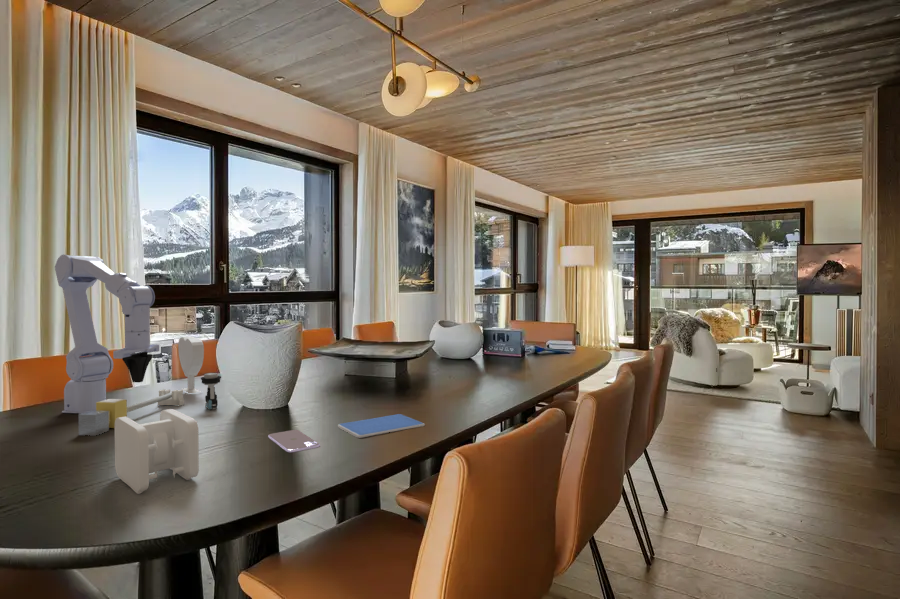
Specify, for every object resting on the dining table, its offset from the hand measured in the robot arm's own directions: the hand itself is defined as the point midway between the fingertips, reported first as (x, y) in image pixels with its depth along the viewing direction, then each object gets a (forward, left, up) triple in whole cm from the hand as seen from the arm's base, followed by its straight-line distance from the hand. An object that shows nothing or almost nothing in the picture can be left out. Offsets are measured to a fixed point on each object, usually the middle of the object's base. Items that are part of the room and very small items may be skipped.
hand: (137, 381), depth 136 cm
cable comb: (-1, +15, -10) cm, 18 cm away
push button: (+13, +13, -10) cm, 21 cm away
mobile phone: (+49, -13, -10) cm, 52 cm away
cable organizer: (+33, -38, -10) cm, 51 cm away
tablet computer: (+66, +2, -11) cm, 67 cm away
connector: (-1, -14, -10) cm, 17 cm away
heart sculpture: (-7, +34, -10) cm, 36 cm away
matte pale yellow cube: (-1, -8, -10) cm, 13 cm away
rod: (-1, +2, -8) cm, 8 cm away
